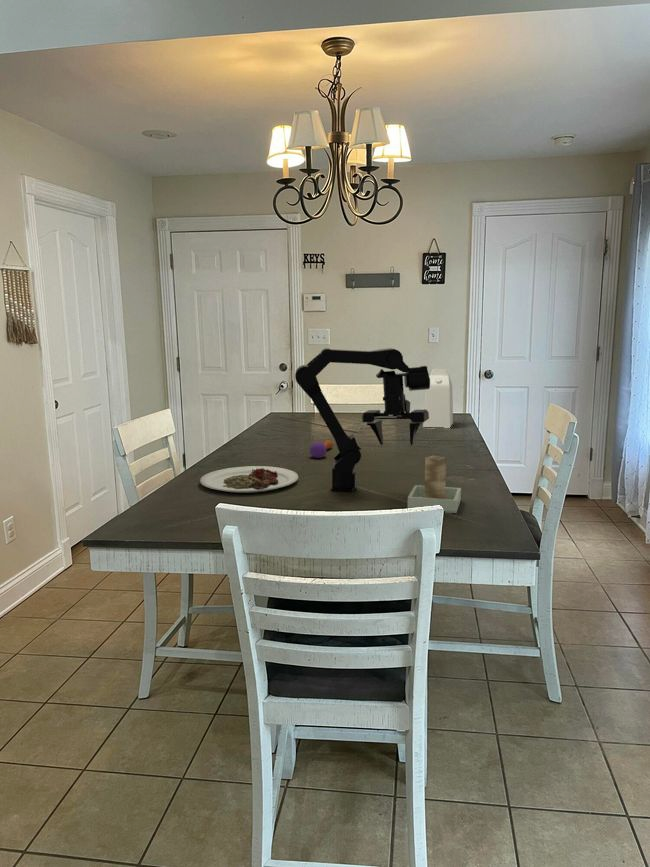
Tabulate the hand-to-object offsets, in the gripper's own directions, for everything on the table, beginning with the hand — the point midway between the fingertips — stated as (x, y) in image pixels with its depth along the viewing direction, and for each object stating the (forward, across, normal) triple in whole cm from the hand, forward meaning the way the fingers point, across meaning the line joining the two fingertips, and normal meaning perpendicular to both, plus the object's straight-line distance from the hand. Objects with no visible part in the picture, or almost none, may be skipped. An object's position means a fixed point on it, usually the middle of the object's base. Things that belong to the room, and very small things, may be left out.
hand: (396, 444), depth 191 cm
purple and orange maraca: (+12, +41, -35) cm, 55 cm away
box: (+13, -14, +14) cm, 24 cm away
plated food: (+10, +44, +12) cm, 47 cm away
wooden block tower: (+13, -14, +14) cm, 24 cm away
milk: (+15, +16, -107) cm, 110 cm away
